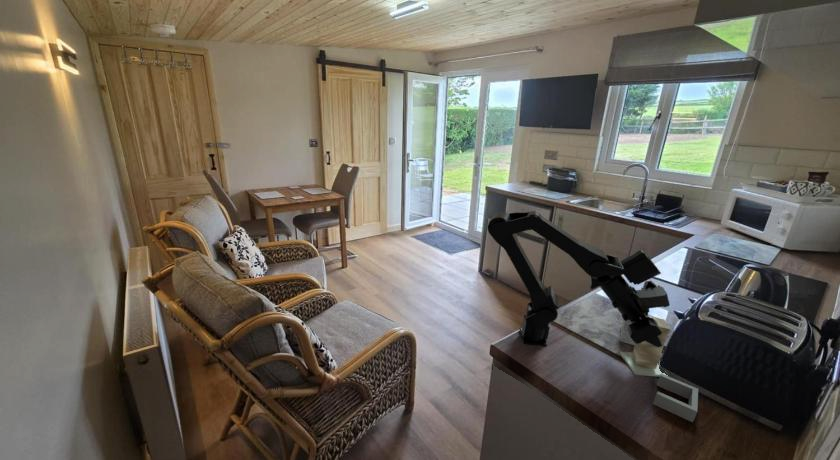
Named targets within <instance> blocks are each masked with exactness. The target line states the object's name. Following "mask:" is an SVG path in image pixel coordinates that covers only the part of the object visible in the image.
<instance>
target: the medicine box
mask: <svg viewBox="0 0 840 460" xmlns="http://www.w3.org/2000/svg"><path fill="white" fill-rule="evenodd" d="M630 324H632V322H631V321H630V320H627V321H625V320H624V319H623V318H622V322H621V327H620V338H619V341H620V342H623V343H625V344H629V345H632V346H634V347H635V344H636V343H634V341H633V340H632V339H631V338H630V335H629V332H628V330H627V329H628V326H629V325H630Z"/></svg>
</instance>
